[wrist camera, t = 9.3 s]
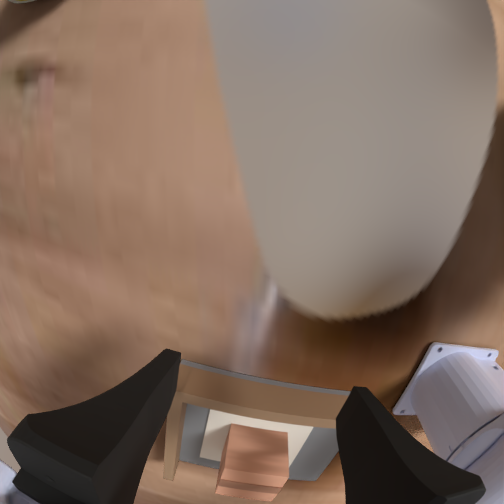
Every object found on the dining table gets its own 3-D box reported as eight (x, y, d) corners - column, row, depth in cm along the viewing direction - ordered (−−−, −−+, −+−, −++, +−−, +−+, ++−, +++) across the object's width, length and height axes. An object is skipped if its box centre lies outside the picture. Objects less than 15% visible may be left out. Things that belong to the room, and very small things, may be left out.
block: (287, 432, 23) (289, 478, 18) (272, 461, 24) (271, 502, 20) (231, 423, 23) (224, 469, 18) (222, 452, 24) (214, 494, 20)
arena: (371, 393, 22) (382, 422, 19) (315, 476, 26) (317, 501, 23) (182, 359, 22) (169, 388, 19) (171, 453, 26) (163, 478, 23)
